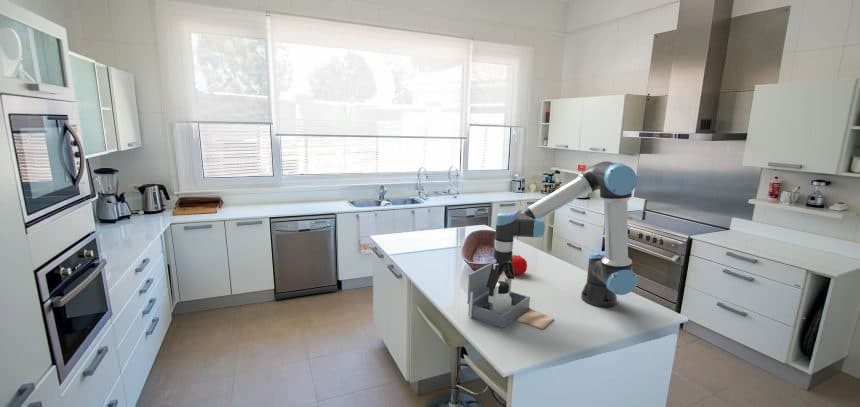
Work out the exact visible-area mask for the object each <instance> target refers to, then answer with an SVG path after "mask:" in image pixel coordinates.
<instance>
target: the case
mask: <svg viewBox="0 0 860 407" xmlns="http://www.w3.org/2000/svg"><path fill="white" fill-rule="evenodd" d="M492 264H496V260H495V261H493V262H490V263H488V264H487V265H484V266H483V267H481V268H479V269H476V270H475V271H472V272H470V273H469V274H468V285H467V286H468V287H467V302H466V303H467V305H468V316H469V318H470V319H471V318H474V319H477V320H479V321H481V322H484V323H487V324H491V325H493V326H496V327H499V328H500V329H504V328H505V327H506V326H508V325H509V324H510V323H511V322H513V321H514V320H515V319H516V318H519V316H520V315H523V314H524V312H526V311H528V309H529V308H530V301H531V300H530V299H531V297H530V296H528V295H524V294H522V293H518V292H515V291H512V290H511V293H510V294H509V295H510V297H511V304H513V305H514V306H513V307H512V306H511V309H510V310H508V311H507V312H506V313H504V314H503V315H501V314H499V313H496V312H493V311H490V309H487V308H486V307H487V306H489V302H488V300H489V288H487V287H486V285H487V282H488V278H489V275H490V272H491V267H492Z"/></svg>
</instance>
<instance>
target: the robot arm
mask: <svg viewBox="0 0 860 407" xmlns="http://www.w3.org/2000/svg"><path fill="white" fill-rule="evenodd" d="M637 184H638V177H637V173H636V172H635V171H634V169H633V168H631V167H630V166H628V165H626V164H624V163H617V162H612V161H601V162H598V163H596V164H593V165H591V166H590V167H588V168H586V169H585V170H583V171H581V172H580V173H579V174H578V175H577V177H576V178H575V179H573V180H572V181H570V182H568V183H566V184H565V185H562V186H561V187H559V188H557V189H556V190H555V191H553V192H552V193H550V194H548V195H546V196H543V198H541V199H540V200H538V201H536V202H534V203H532V204H531V205H529V206H528V207H526V208H524V209H521V210H516V211H515V212H508V211H507V212H506V211H502V212H498V214H497V215H496V221H495V234H494V236H495V237H494V250H493V258H494V260H495V261H496V264H492V267H491V272H490V275H489V278H488V282H487V285H486V287H487V288H489V300H488V302H490V303H493V304H495V297H496V288H495V287H496V284H497V282H498V281H499V279H500V277H501V275H503V273H504V274H505V278H504V282H506V283H508V284H509V294H510V293H511V291H512V280H514V279H515V275H516V274H515V273H514V268H513V258H512V255H513V250H514V237H522V238H523V237H524V238H542V237H543V236H544V235H545V230H546V227H545V225H546V224H545V222H544V219H545V218H546V217H547V216H549V215H551V214H553V213H555V211H558V210H559V209H561V208H563V207H564V206H566V205H568V204H570V203H572V202H573V201H574V200H577V199H578V198H580V197H582V196H584V195H586V194H591V193H594V192H595V191H598V190H599V198H600V199H601V200H602V201H603V213H604V250H603V251H602V250H594V251H591V252H590V253H589V257H588V264H587V265H588V267H587V275H586V277H587V278H586V282H585V285H584V287H583V289H582V290H581V293H580V295H581V296H580V298H581V300H582V301H583V302H585V303H587V304H588V305H592V306H595V307H599V308H600V307H601V308H610V307H615V306H616V305H617V300H618V297H617V295H618V296H625V295H628V294H630V293H632V291H633V290H635V289H636V287H637V285H638V276H637V274H636V273H635V271H633V260H632V259H631V258H630V257H629V241H628V240H629V234H628V233H629V231H628V226H629V222H628V220H629V218H628V216H629V215H628V201H629V200H630V199H631V198H632V197H633V196H632V193H633V191H634V189H635V188H636V186H637ZM543 218H544V219H543ZM511 272H512V273H511Z"/></svg>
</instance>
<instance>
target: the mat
mask: <svg viewBox="0 0 860 407" xmlns="http://www.w3.org/2000/svg"><path fill="white" fill-rule="evenodd" d="M554 319H555V318H554V317H551V316H547V315H545V314H541V313H540V312H536V311H533V310H528V309H527V310H526V311H525V313H522V314H521V316H520V317H517V322H520V323H523V324H525V325H528V326H531V327H534V328H536V329H540V330H544V329H545V328H546V327H547V326H549V325H550V324H551V323H552V322H553V321H555V320H554Z"/></svg>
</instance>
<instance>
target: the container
mask: <svg viewBox="0 0 860 407" xmlns="http://www.w3.org/2000/svg"><path fill="white" fill-rule="evenodd" d="M495 288H496V297H495V304H493V303H490V302H489V305H488V307H489V310H490V311H493V312H496V313H499V314H501V315H503V314H504V313H506V312H507V311H508V310H510V309H511V308H512V303H511V297H510V295H509V284H508V283H506V282H505V281H502V280H498V282H497V284H496V287H495Z"/></svg>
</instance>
